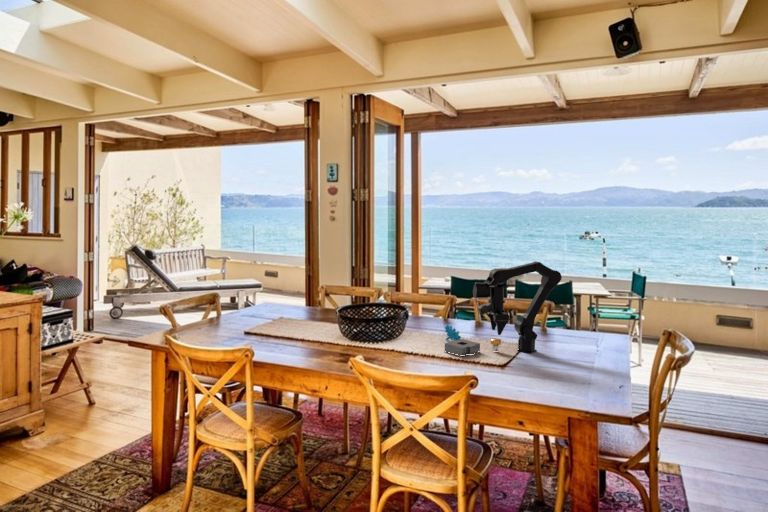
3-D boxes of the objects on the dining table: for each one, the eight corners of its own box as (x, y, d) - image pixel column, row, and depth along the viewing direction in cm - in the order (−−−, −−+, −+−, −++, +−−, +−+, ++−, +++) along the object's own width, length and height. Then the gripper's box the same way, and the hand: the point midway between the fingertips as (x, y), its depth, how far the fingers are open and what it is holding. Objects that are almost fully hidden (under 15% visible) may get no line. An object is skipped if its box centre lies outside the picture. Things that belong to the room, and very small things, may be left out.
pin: (502, 352, 218) (502, 339, 218) (496, 353, 215) (496, 341, 215) (494, 349, 221) (494, 337, 221) (488, 351, 219) (488, 339, 218)
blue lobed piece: (455, 341, 229) (443, 324, 233) (446, 349, 231) (435, 332, 236) (466, 340, 237) (454, 323, 242) (458, 347, 240) (446, 331, 244)
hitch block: (481, 352, 217) (481, 343, 216) (463, 357, 209) (463, 348, 209) (460, 347, 226) (461, 338, 226) (442, 351, 218) (443, 342, 218)
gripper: (473, 294, 225) (473, 327, 226) (484, 301, 206) (483, 338, 208) (497, 294, 226) (497, 327, 227) (510, 301, 207) (509, 337, 208)
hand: (496, 332), depth 218 cm, fingers open, 9 cm apart
